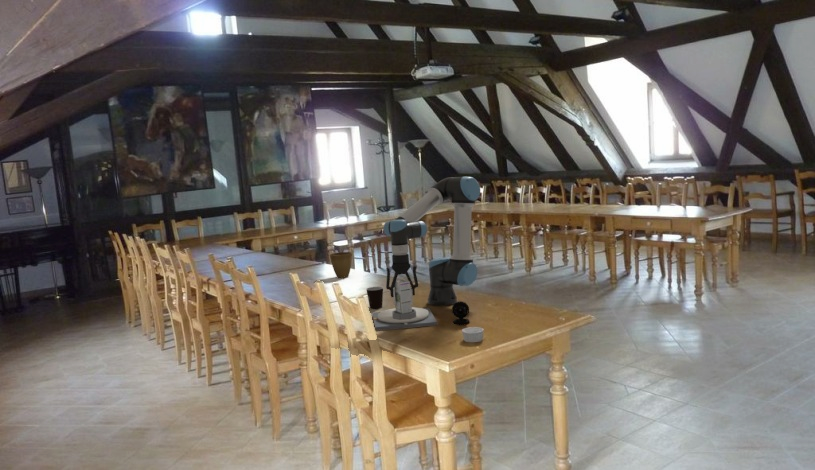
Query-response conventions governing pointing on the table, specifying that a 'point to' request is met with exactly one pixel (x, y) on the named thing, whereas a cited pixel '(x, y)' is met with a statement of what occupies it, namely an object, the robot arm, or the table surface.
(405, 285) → the syrup box
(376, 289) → the black cup
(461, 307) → the webcam
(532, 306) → the table surface
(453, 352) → the table surface
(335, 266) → the plant pot
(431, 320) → the base
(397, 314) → the grey round plate
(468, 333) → the ramekin
